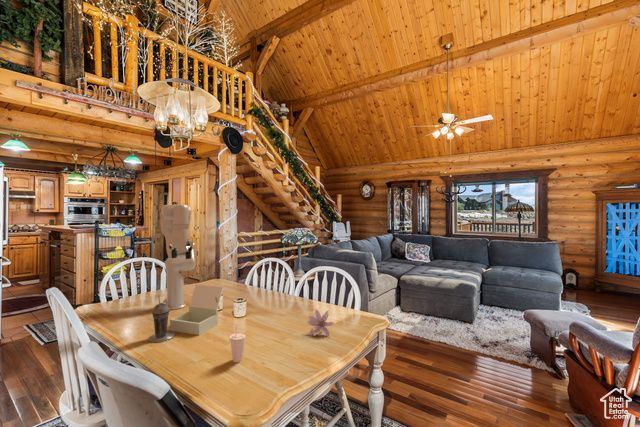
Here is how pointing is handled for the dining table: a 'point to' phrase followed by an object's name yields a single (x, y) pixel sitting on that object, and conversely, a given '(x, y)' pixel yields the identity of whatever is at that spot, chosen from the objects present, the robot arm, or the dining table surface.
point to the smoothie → (237, 346)
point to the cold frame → (199, 311)
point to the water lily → (319, 323)
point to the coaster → (167, 337)
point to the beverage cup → (160, 319)
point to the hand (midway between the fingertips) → (181, 258)
